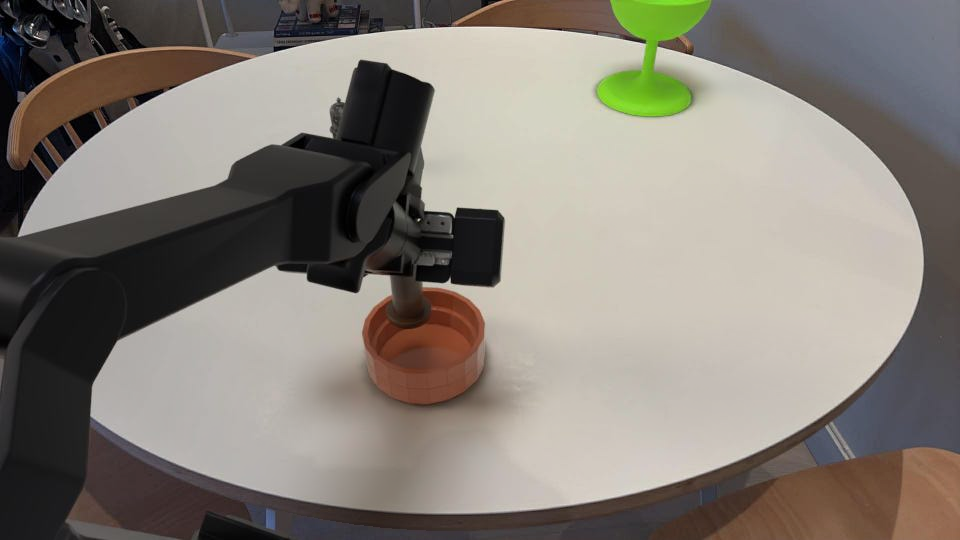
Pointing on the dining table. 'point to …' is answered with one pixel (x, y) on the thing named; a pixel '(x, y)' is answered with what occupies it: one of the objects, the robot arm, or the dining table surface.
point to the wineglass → (651, 57)
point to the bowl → (426, 349)
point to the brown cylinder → (408, 303)
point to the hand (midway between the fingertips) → (407, 253)
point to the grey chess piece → (336, 116)
